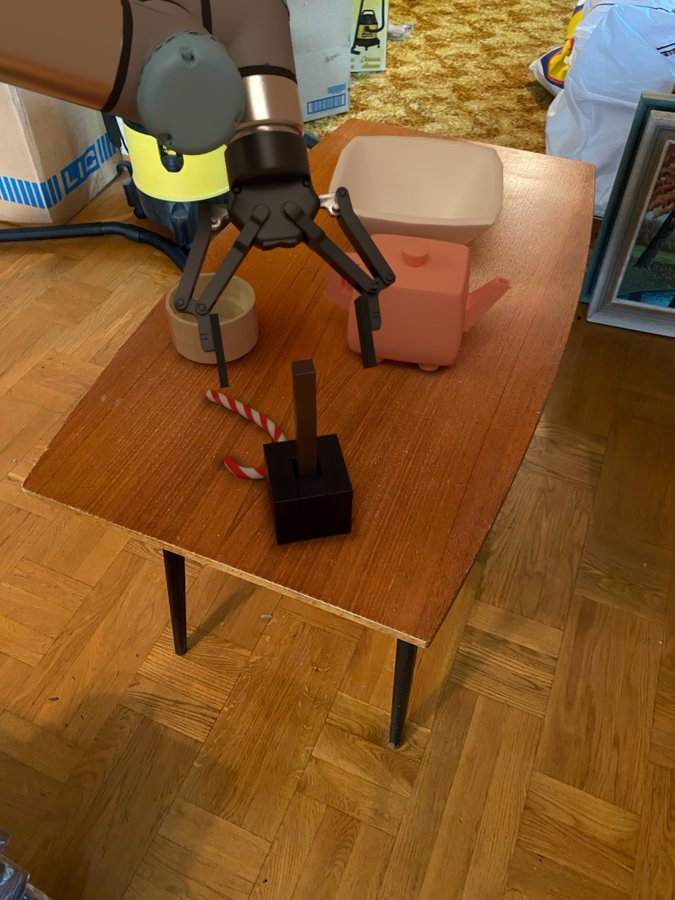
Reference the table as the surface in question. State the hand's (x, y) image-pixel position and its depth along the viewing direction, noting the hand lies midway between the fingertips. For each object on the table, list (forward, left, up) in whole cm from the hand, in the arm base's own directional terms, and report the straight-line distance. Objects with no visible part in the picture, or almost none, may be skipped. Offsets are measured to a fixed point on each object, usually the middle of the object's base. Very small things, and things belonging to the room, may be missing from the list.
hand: (298, 377), depth 66 cm
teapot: (+10, +25, -15) cm, 31 cm away
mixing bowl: (-15, +22, -15) cm, 31 cm away
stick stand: (+1, -4, -15) cm, 16 cm away
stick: (+1, -4, -15) cm, 16 cm away
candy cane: (-9, +6, -15) cm, 19 cm away
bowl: (+8, +50, -15) cm, 53 cm away
